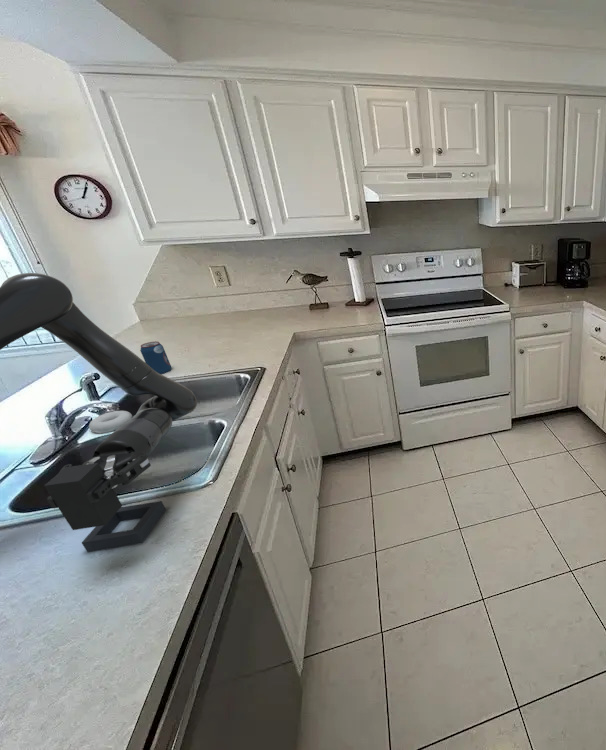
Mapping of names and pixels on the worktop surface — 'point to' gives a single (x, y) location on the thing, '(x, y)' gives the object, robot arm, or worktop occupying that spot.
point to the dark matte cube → (82, 496)
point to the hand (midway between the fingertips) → (72, 501)
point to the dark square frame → (106, 540)
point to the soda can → (155, 357)
